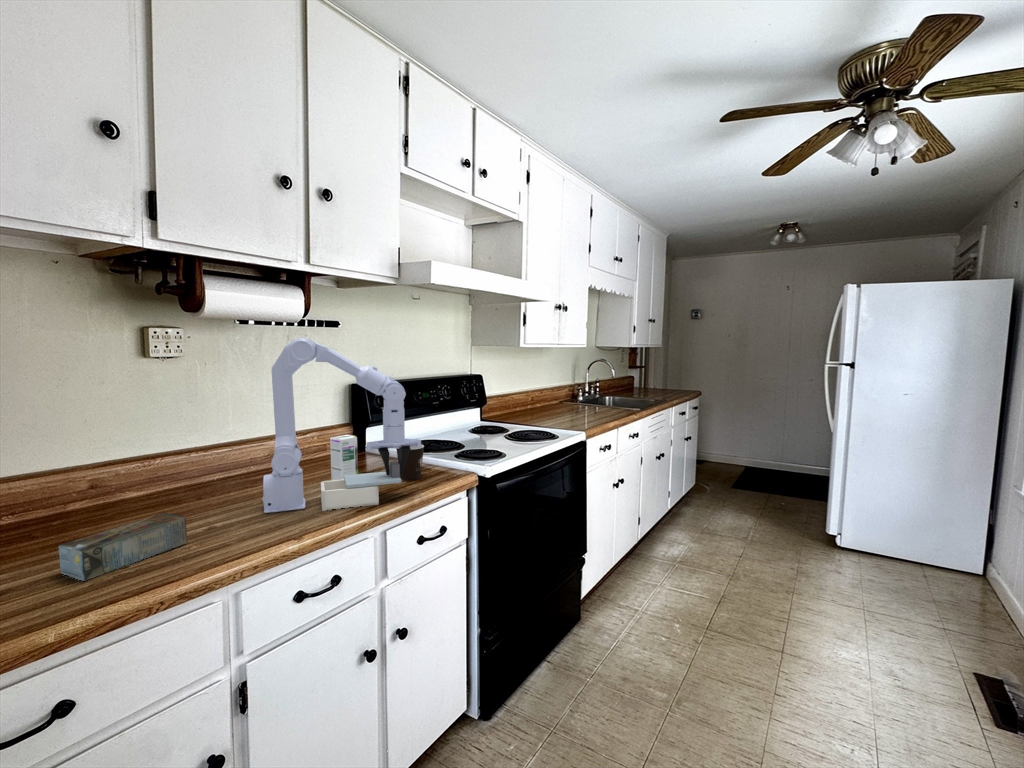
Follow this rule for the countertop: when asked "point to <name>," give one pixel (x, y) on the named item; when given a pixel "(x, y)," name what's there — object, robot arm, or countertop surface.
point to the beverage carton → (122, 545)
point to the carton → (347, 495)
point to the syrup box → (343, 456)
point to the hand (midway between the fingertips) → (394, 473)
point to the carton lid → (374, 477)
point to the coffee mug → (412, 463)
